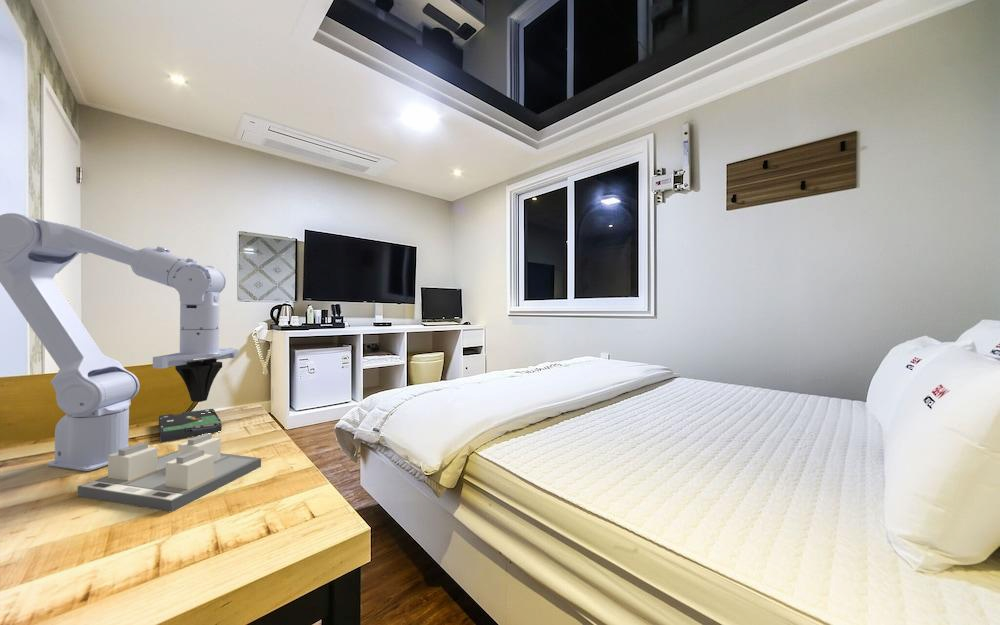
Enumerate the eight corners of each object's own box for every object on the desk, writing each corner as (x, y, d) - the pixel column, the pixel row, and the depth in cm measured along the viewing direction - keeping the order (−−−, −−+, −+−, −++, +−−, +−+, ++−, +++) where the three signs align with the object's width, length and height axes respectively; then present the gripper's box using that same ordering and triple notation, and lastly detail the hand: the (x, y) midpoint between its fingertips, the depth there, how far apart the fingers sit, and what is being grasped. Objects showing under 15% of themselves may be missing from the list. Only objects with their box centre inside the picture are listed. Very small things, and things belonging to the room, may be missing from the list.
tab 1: (107, 477, 57) (108, 449, 57) (137, 466, 61) (138, 440, 60) (128, 480, 56) (128, 452, 56) (157, 469, 60) (157, 443, 60)
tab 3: (165, 486, 55) (165, 457, 54) (192, 474, 58) (193, 447, 58) (187, 489, 54) (188, 460, 54) (213, 477, 58) (214, 449, 58)
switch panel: (77, 496, 54) (77, 485, 54) (183, 456, 69) (183, 448, 69) (171, 511, 51) (171, 500, 51) (261, 466, 65) (261, 457, 65)
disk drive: (157, 427, 86) (160, 444, 75) (157, 415, 86) (160, 431, 75) (213, 419, 93) (223, 433, 82) (213, 408, 93) (223, 421, 82)
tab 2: (177, 465, 62) (178, 439, 61) (201, 455, 65) (201, 431, 65) (197, 467, 61) (198, 441, 61) (220, 458, 65) (220, 433, 65)
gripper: (176, 332, 61) (175, 413, 61) (251, 327, 75) (250, 393, 76) (142, 330, 62) (142, 409, 63) (222, 326, 77) (221, 391, 77)
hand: (199, 400), depth 69 cm, fingers closed
